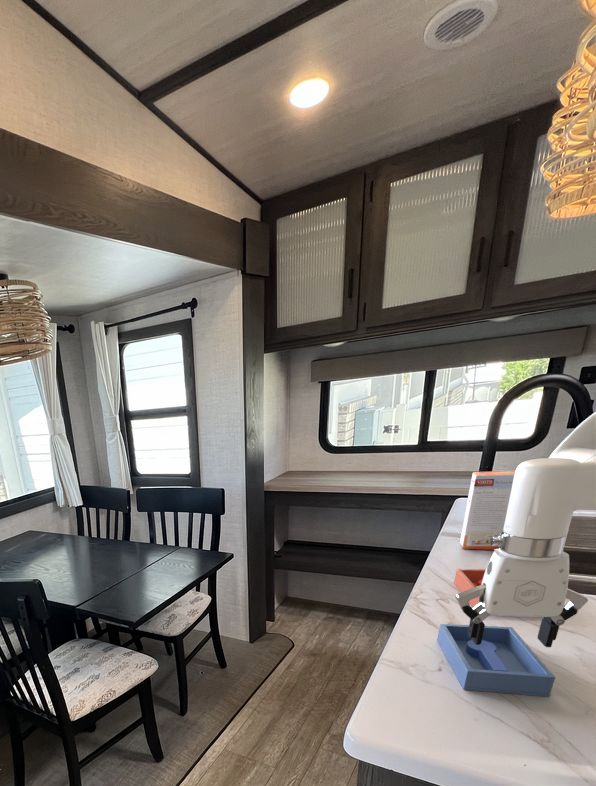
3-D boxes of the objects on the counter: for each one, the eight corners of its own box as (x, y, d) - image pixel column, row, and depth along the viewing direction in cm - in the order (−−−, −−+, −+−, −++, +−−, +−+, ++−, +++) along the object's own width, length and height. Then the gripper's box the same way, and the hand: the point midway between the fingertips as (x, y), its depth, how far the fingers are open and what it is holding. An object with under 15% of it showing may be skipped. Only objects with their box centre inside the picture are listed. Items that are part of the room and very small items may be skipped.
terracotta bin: (510, 584, 110) (513, 569, 108) (542, 615, 95) (547, 599, 94) (453, 582, 113) (456, 568, 112) (476, 612, 99) (480, 597, 97)
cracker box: (517, 545, 132) (535, 469, 123) (522, 551, 127) (542, 473, 119) (458, 542, 138) (472, 470, 129) (461, 549, 133) (476, 474, 124)
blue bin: (507, 644, 87) (512, 627, 85) (549, 697, 72) (555, 677, 71) (436, 640, 90) (440, 623, 89) (463, 689, 76) (467, 671, 74)
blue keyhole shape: (514, 681, 75) (517, 671, 75) (482, 679, 77) (485, 669, 76) (489, 647, 85) (492, 637, 84) (462, 645, 86) (464, 636, 86)
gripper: (473, 553, 70) (455, 651, 77) (618, 550, 65) (585, 656, 72) (458, 537, 76) (443, 629, 83) (588, 534, 71) (561, 633, 78)
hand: (508, 641), depth 77 cm, fingers open, 9 cm apart
